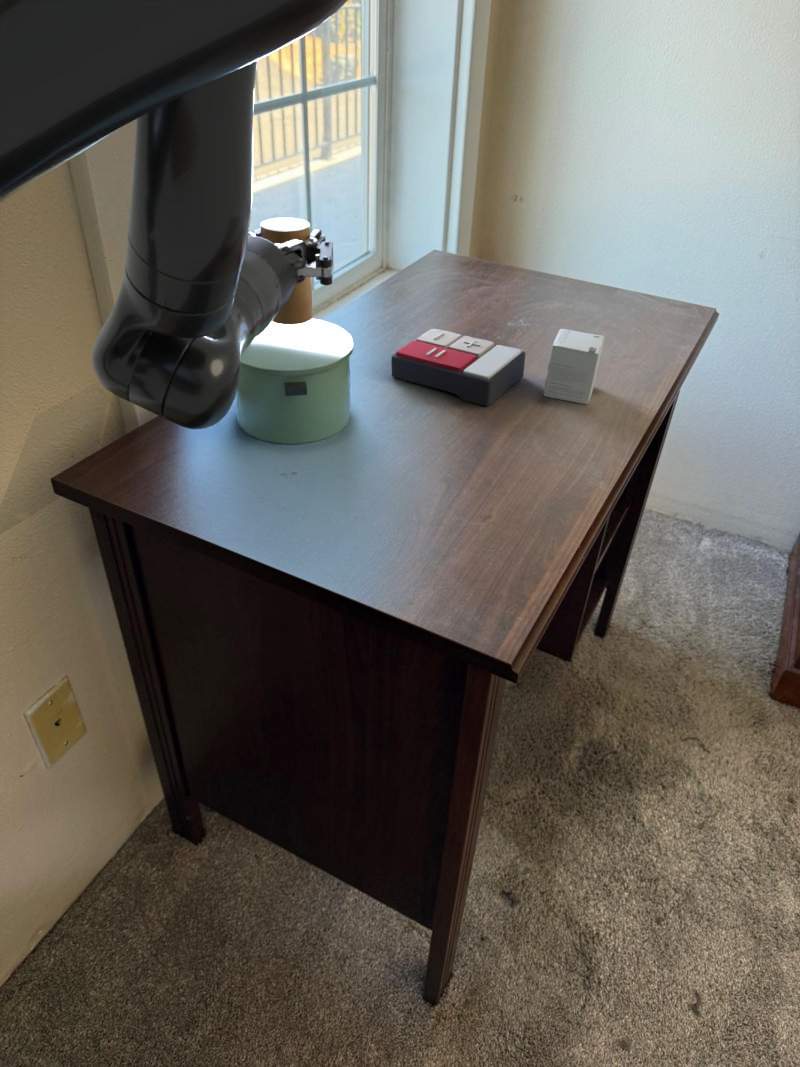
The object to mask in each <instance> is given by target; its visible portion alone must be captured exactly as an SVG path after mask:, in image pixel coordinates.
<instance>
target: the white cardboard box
mask: <svg viewBox="0 0 800 1067" xmlns="http://www.w3.org/2000/svg"><path fill="white" fill-rule="evenodd" d="M604 342H605V335H600V334H594V333H590V332H589V333H588V332H582V331H577V330H572V329H567V328H559V330H558V333H557V334H556V337H555V338H554V341H553V342H552V343H553V344H552V346H551V352H550V358H549V362H548V368H547V374H546V378H545V384H544V389H543V396H544V397H546V398H549V399H556V400H560V401H566V402H571V403H577V404H583V405H589V403H590V401H591V398H592V396H593V395H592V394H593V392H594V387H595V384H596V379H597V374H598V370H599V367H600V366H599V365H600V360H601V356H602V351H603V347H604Z"/></svg>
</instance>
